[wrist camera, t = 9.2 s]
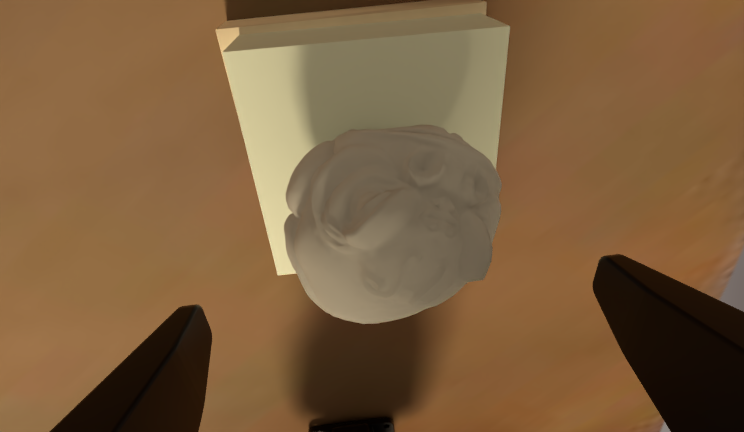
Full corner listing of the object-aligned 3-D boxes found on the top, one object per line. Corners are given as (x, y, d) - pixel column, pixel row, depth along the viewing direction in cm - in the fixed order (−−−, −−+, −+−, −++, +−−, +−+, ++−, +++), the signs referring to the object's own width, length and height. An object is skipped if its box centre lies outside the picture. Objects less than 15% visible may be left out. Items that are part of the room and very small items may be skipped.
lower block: (457, 195, 24) (473, 224, 21) (278, 216, 23) (272, 248, 21) (464, -6, 18) (486, 1, 16) (231, 17, 18) (215, 29, 15)
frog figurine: (493, 113, 15) (604, 222, 9) (403, 260, 18) (442, 411, 12) (332, 38, 13) (340, 113, 7) (264, 216, 16) (230, 369, 10)
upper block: (467, 214, 21) (487, 252, 18) (283, 234, 20) (277, 275, 18) (480, 12, 16) (510, 26, 13) (239, 34, 16) (222, 52, 13)
